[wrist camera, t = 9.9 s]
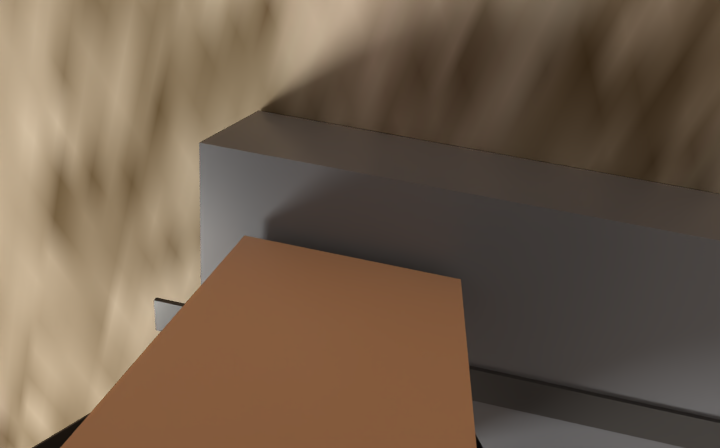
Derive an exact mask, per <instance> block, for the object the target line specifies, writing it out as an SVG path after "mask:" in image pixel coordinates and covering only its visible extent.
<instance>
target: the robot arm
mask: <svg viewBox="0 0 720 448" xmlns="http://www.w3.org/2000/svg"><path fill="white" fill-rule="evenodd" d="M89 414H90V413H89ZM89 414H87V415H86V416H84V417H82V418H81V419H79V420H77V421H76V422H74V423H72V424H71V425H69V426H67V427H66V428H64V429H62V430H61V431H59V432H57V433H56V434H54V435H52V436H51V437H49V438H47V439H46V440H44V441H42V442H41V443H39V444H37V445H36V446H34V447H32V448H60V447H61V446H62V445H63V444H64V443H65V442H66V441H67V439H68V438H69V437H70V436H71V435H72V434H73V432H74V431H75V430H76V429H77V428H78V427H79V426H80V424H81V423H82V422H83V421H84V420H85V419H86V417H87V416H88V415H89ZM475 436H476V434H475ZM476 446H477V448H483V446H482V445H481V443H480V441H479V439H478V437H477V436H476Z"/></svg>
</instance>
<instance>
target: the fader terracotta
mask: <svg viewBox="0 0 720 448" xmlns="http://www.w3.org/2000/svg"><path fill="white" fill-rule="evenodd" d="M60 448H477V446H476V436H475V425H474V414H473V404H472V393H471V382H470V372H469V361H468V351H467V340H466V329H465V319H464V308H463V297H462V287H461V279H457V278H452V277H447V276H442V275H437V274H432V273H427V272H422V271H417V270H412V269H408V268H403V267H398V266H393V265H388V264H383V263H378V262H373V261H368V260H363V259H358V258H353V257H348V256H343V255H339V254H334V253H329V252H324V251H319V250H314V249H309V248H304V247H299V246H294V245H289V244H284V243H279V242H274V241H270V240H265V239H260V238H255V237H250V236H245V235H244V236H243V238H242V239H241V240H240V241H239V242H238V243H237V245H236V246H235V247H234V248H233V249H232V250H231V251H230V253H229V254H228V255H227V256H226V257H225V258H224V260H223V261H222V262H221V263H220V264H219V265H218V266H217V268H216V269H215V270H214V271H213V272H212V273H211V275H210V276H209V277H208V278H207V279H206V280H205V281H204V283H203V284H202V285H201V286H200V287H199V288H198V290H197V291H196V292H195V293H194V294H193V295H192V296H191V298H190V299H189V300H188V301H187V302H186V303H185V305H184V306H183V307H182V308H181V309H180V310H179V311H178V313H177V314H176V315H175V316H174V317H173V318H172V320H171V321H170V322H169V323H168V324H167V325H166V326H165V328H164V329H163V330H162V331H161V332H160V333H159V334H158V336H157V337H156V338H155V339H154V340H153V341H152V343H151V344H150V345H149V346H148V347H147V348H146V349H145V351H144V352H143V353H142V354H141V355H140V356H139V358H138V359H137V360H136V361H135V362H134V363H133V364H132V366H131V367H130V368H129V369H128V370H127V371H126V373H125V374H124V375H123V376H122V377H121V378H120V379H119V381H118V382H117V383H116V384H115V385H114V386H113V388H112V389H111V390H110V391H109V392H108V393H107V394H106V396H105V397H104V398H103V399H102V400H101V401H100V403H99V404H98V405H97V406H96V407H95V408H94V409H93V411H92V412H91V413H90V414H89V415H88V416H87V417H86V419H85V420H84V421H83V422H82V423H81V424H80V426H79V427H78V428H77V429H76V430H75V431H74V432H73V434H72V435H71V436H70V437H69V438H68V439H67V441H66V442H65V443H64V444H63V445H62V446H61V447H60Z"/></svg>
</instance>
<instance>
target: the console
mask: <svg viewBox="0 0 720 448" xmlns="http://www.w3.org/2000/svg"><path fill="white" fill-rule="evenodd" d="M199 150H200V241H201V285H202V284H203V283H204V281H205V280H206V279H207V278H208V277H209V276H210V275H211V273H212V272H213V271H214V270H215V269H216V268H217V266H218V265H219V264H220V263H221V262H222V261H223V260H224V258H225V257H226V256H227V255H228V254H229V253H230V251H231V250H232V249H233V248H234V247H235V246H236V245H237V243H238V242H239V241H240V240H241V239H242V238H243V236H244V235H245V236H250V237H255V238H260V239H265V240H270V241H274V242H279V243H284V244H289V245H294V246H299V247H304V248H309V249H314V250H319V251H324V252H329V253H334V254H339V255H343V256H348V257H353V258H358V259H363V260H368V261H373V262H378V263H383V264H388V265H393V266H398V267H403V268H408V269H412V270H417V271H422V272H427V273H432V274H437V275H442V276H447V277H452V278H457V279H461V287H462V297H463V308H464V319H465V329H466V340H467V351H468V361H469V372H470V382H471V393H472V404H473V414H474V425H475V434H476V436H477V437H478V439H479V441H480V443H481V445H482V446H483V448H720V194H717V193H711V192H706V191H700V190H694V189H689V188H683V187H678V186H672V185H667V184H661V183H656V182H650V181H645V180H639V179H634V178H628V177H623V176H617V175H612V174H606V173H601V172H595V171H590V170H584V169H579V168H573V167H567V166H562V165H556V164H551V163H545V162H540V161H534V160H529V159H523V158H518V157H512V156H507V155H501V154H496V153H490V152H485V151H479V150H474V149H468V148H463V147H457V146H452V145H446V144H440V143H435V142H429V141H424V140H418V139H413V138H407V137H402V136H396V135H391V134H385V133H380V132H374V131H369V130H363V129H358V128H352V127H347V126H341V125H336V124H330V123H325V122H319V121H313V120H308V119H302V118H297V117H291V116H286V115H280V114H275V113H269V112H264V111H257V112H255V113H253V114H251V115H250V116H248V117H246V118H244V119H242V120H240V121H238V122H237V123H235V124H233V125H231V126H229V127H227V128H226V129H224V130H222V131H220V132H218V133H216V134H214V135H213V136H211V137H209V138H207V139H205V140H203V141H202V142H200V143H199ZM184 305H185V304H184V303H179V302H174V301H170V300H165V299H161V298H156V299H155V300H154V309H155V324H156V330H157V331H162V330H163V329H164V328H165V326H166V325H167V324H168V323H169V322H170V321H171V320H172V318H173V317H174V316H175V315H176V314H177V313H178V311H179V310H180V309H181V308H182V307H183V306H184Z"/></svg>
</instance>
